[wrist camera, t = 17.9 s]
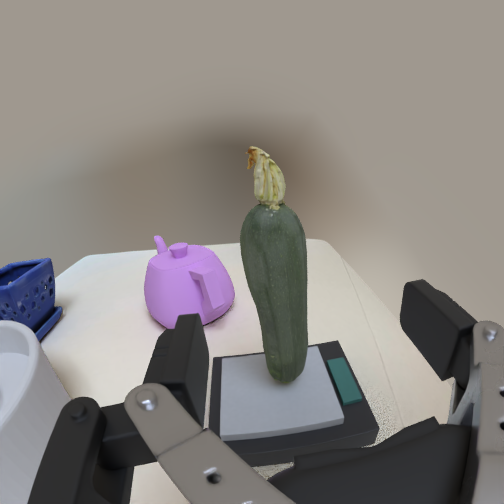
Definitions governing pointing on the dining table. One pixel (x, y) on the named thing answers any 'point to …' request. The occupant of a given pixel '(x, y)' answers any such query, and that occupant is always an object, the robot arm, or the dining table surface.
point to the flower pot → (29, 295)
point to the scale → (289, 407)
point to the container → (24, 409)
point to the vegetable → (276, 270)
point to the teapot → (186, 284)
